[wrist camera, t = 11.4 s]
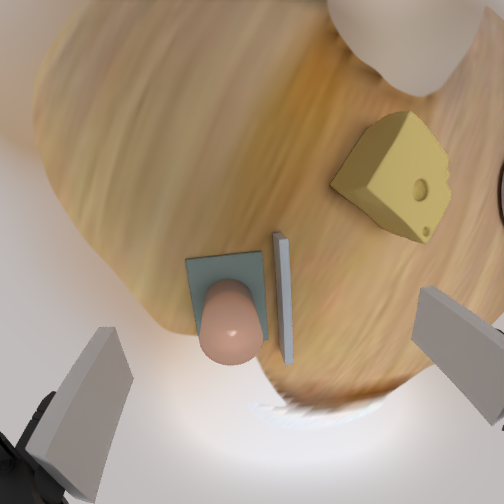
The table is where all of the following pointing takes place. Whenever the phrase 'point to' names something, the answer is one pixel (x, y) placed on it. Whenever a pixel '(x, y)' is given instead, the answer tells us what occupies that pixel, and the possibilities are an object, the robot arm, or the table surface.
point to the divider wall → (283, 295)
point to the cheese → (398, 176)
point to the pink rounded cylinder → (230, 323)
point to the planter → (502, 194)
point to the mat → (228, 267)
